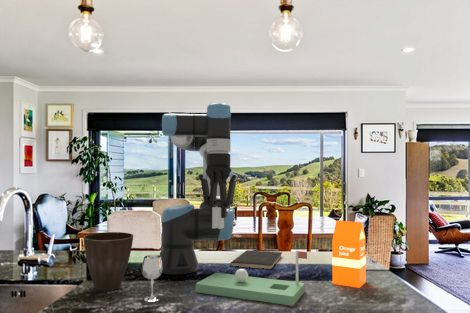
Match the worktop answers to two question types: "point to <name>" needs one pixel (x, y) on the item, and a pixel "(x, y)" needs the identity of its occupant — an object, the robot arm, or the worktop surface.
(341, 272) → the orange juice
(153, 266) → the wineglass
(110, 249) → the plant pot
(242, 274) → the ball
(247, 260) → the hardcover book
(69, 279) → the worktop surface
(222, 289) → the putting deck
